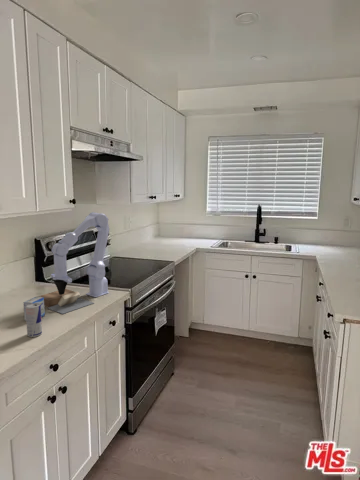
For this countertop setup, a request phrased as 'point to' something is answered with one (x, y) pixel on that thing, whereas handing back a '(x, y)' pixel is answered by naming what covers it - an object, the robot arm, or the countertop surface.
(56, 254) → the robot arm
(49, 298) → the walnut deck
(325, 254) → the countertop surface
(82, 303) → the slate mat
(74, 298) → the birch tile
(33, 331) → the energy drink
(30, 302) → the medicine box
